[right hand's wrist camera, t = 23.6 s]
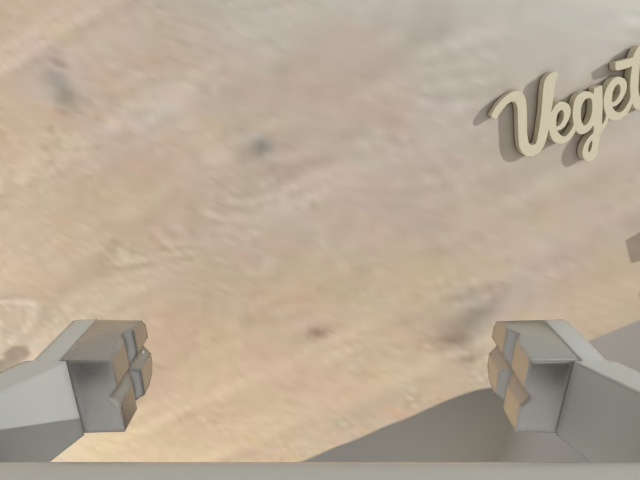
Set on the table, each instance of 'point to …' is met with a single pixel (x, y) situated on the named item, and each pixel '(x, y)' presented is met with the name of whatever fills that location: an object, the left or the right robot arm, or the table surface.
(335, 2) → the table surface
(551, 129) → the decorative sign
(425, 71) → the table surface
